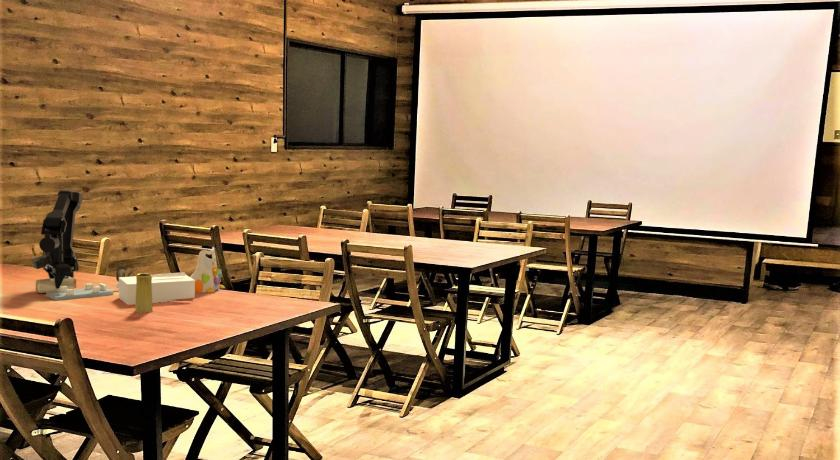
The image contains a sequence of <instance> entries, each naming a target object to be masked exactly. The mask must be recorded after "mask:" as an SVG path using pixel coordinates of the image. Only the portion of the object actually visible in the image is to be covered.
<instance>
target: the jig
mask: <svg viewBox="0 0 840 460" xmlns="http://www.w3.org/2000/svg"><path fill="white" fill-rule="evenodd" d="M45 295H46V296H45V297H46V298H49V299H52V300H53V301H63V300H65V301H66V300H73V299H74V300H75V299H85V298H94V297H104V296H105V297H106V296H113V295H114V290H112V289H109V288H108V284H105V283H102V282H100V283H99V284H98V285H97V286H94V283H85V288H74V289H68V287H67V286H60V291H54V292H45Z"/></svg>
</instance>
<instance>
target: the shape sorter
mask: <svg viewBox="0 0 840 460" xmlns="http://www.w3.org/2000/svg"><path fill="white" fill-rule="evenodd" d="M206 255H211V258H209V257H208V256H206ZM216 255H217V254H216V251H215V247H214V246H212V247H211V250H206V249H203V250H200V251H199V253H198V256H197V262H196V267H195V269H194V271H193V273H192V274H191V275H190V276H189V277H190V278H192V279H194V280H195V293H215V291H216V290H219V289H225V286H224V285H223V284H221V278H222V275H223V274H222V269H219V268H218V265H217V257H216Z"/></svg>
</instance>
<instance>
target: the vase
mask: <svg viewBox="0 0 840 460" xmlns="http://www.w3.org/2000/svg"><path fill="white" fill-rule="evenodd" d="M146 273H147V272H146ZM146 273H144V272H143V273H138V274H136V275H135V276H136V304H135V306H134V308H135V313H138V312H142V313H141V314H145V313H144V312H148V313H152V312H153V303H152V278H151V277H152V275H153V274H151V273H148V274H146ZM151 311H152V312H151Z"/></svg>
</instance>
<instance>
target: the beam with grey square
mask: <svg viewBox="0 0 840 460" xmlns="http://www.w3.org/2000/svg"><path fill="white" fill-rule="evenodd" d="M60 286H67V287H68V289H74V290H75V289H77V278H75V277H74V278H72V277H67V276H65V277H64V279H63V281H62V283H61V285H60ZM56 291H60V287H59V289H56V286H55V280H54V278H49V277H48V278H41V279H35V292H37V293H38V294H43V293H45V294H46V292H56Z"/></svg>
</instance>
